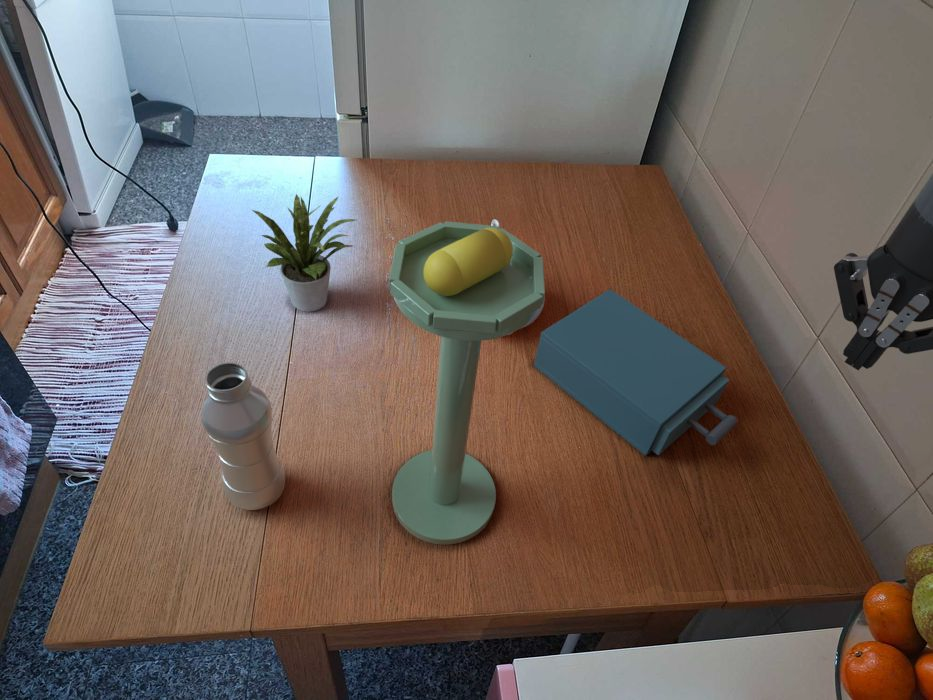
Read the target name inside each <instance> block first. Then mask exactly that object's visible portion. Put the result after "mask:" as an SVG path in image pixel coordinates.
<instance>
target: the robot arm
mask: <svg viewBox="0 0 933 700" xmlns="http://www.w3.org/2000/svg"><path fill="white" fill-rule="evenodd" d="M833 271H834V276H835V281H836V285H837V291H838V296H839V301H840V305H841V311H842V314H843V318H844V320H845V321H847V322H850V323H853V324H854V325H855V327H856V332H855V334H854V335H853V336H852V338H851V339H850V341H849V342H848V343H847V345H846V346H845V347H844V349H843V353H842V355H843V356H844V357H846V359H845V361H844V363H845V364H847V365H848V366H850V367H852V368H854V370H857V371H860V370H861V369H862V368H864V369H866V370H868V369H871V368H872V367H873V366H874V365H876V363H877V362H878V360H880V358H881V357H882V355H884V353H886V351H887V349H890V348H895V349H898V350H899V352H901V353H902V354H905V355H911V354H916V353H922V352H925V351H926V352H927V351H933V326H929V327H924V328H920V329H913V330H906V329H907V328H908V327H909V325H911V324H912V322H915V323H923V322H927V321H931V320H933V173H931V175H930V176H929V178H928V179H927V181H926V182H925V184H924V185H923V187H922V188H921V190H920V191H919V193H918V194H917V195H916V198H915V199H914V200H913V202H912V203H911V205H910V206H909V208H908V209H907V210H906V212H905V213H904V215H903V217H902V218H901V219H900V221H899V222H898V224H897V225H896V227H895V228H894V230H893V231H892V233H891V234H890V236H889V237H888V239H887V240H886V242H885V243H884V244H883V245H881V246H879V247H877V248H876V249H874V251H873V252H871V253H870V254H869V255H857V254H856V253H854V252H848V253H847V254H845V255H844V257H842V258H841V259H840V260H839V261H837V262H836V263H835V264H834V265H833ZM865 276H868V281H869V289H870V294H871V297H872V298H873V301H872V303H871V305H870V307H869V303H868V297H867V292H866V287H865V283H864V277H865ZM890 312H893V313H894V314H895V315H896V316H895V317H894V318H893V319H892V320H891V321H890V322H889V324H887V326H886V327H884V329H882V330H881V331H880V330H879V328H880V327H881V326H882V325H883V323H884V322H885V320H886V319H887V318H888V315H889V314H890Z"/></svg>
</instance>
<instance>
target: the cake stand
mask: <svg viewBox="0 0 933 700" xmlns="http://www.w3.org/2000/svg"><path fill="white" fill-rule="evenodd" d="M485 228H496V229H498V226H491V225H488V224H477V223H467V222H457V221H447V220H445V221H444V223H443V222H442V221H439V222H438V223H436V224H435V223H434V224H433V225H431V226H429V227H426V228H424V229H422V230H420V231H418V232H415V233H413V234H411V235H409V236H407V237H404V238H402V239H400V240H398V243H395V248H394V252H393V258H392V263H391V267H390V272H389V277H388V290H389V291H390V295H391V296H392V297H393V299H394V302H395V304H396V306H397V308H398V309H399V310H400V312H401V313H402V314H403V315H404V317H406V318H407V319H408V320H409V321H410V322H411V323H412V324H414V325H415V326H417V327H418V328H420V329H422V330H424V331H426V332H429V333H430V334H433V335H436V336H439V350H438V364H437V375H436V377H437V378H436V389H435V390H436V391H435V402H434V403H435V405H434V416H433V429H432V430H433V431H432V444H431V449H430V450H426V451H423V452H420V453H418V454H416V455H414V456H413V457H411V458H410V459H408V460H407V461H406V462H405V463H404V464H403V465H402V466H401V467H400V469H399V470H398V471H397V473H396V475H395V477H394V480H393V483H392V488H391V489H392V490H391V502H392V508H393V511H394V514H395V516H396V519H397V520H398V522H399V523H400V525H401V526H402V527H403V528H404V529H405V530H406V531H407V532H408V533H409V534H411V536H413V537H415V538H417V539H418V540H421V541H424V542H426V543H429V544H434V545H445V546H448V545H457V544H460V543H464V542H467V541H468V540H470V539H472V538H474V537H476V536H477V535H478V534H480V533H481V532H482V531H483V530H484V529H485V528H486V526H487V525H488V524H489V522H490V520H491V519H492V516H493V514H494V511H495V506H496V500H497V490H496V485H495V482H494V479H493V477H492V476H491V474H490V472H489V471H488V469H487V468H486V467H485V466H484V465H483V464H482V463H481V462H480V461H479V460H477V459H476V458H475V457H473V456H472V455H469V454H468V453H467V447H468V439H469V431H470V425H471V418H472V411H473V410H472V409H473V403H474V395H475V389H476V381H477V374H478V367H479V361H480V352H481V347H482V346H481V345H482V341H489V340H494V339H499V338H503V337H506V336H509V335H508V334H510V335H512V334H513V333H515V332H517V331H518V330H521V329H522V328H521V327H523V326H524V325H525V324H526V323H527V322H529V321H530V320H531V318H532V317H533V316H534V314H535V312H536V310H538V309H539V308H541V305H542V304H543V301H544V302H545V300H544V296H546V285H545V269H544V257H543V256H541V253H540V252H538V251H536V250H535V249H534V248H532V247H531V246H529V245H528V244H526V243H525V242H523V240H521V239H519V238H517V236H515V235H513V234H512V233H511V232H509V231H507V230H506V229H504V228H503V227H500V229H499V230H501V231H503V232H504V233H505V234H506V235H507V236H508V237H509V239H510V241H511V243H512V247H513V253H512V258H511V260H510V262H509V264H508V265H507V266H506V267H505V268H504V269H502V270H501V271H499V272H497V273H495V274H493V275H491V276H490V277H488V278H486V279H484V280H482V281H480V282H478V283H476V284H475V285H473V286H471V287H469V288H467V289H465V290H463V291H461V292H460V293H458V294H455V295H451V296H443V295H439V294H437V293H435V292H433V291H432V290H431V289H430V288H429V287H428V286H427V284H426V282H425V279H424V272H423V270H424V265H425V262H426V261H427V259H428V258H429V256H430V255H431V254H433V253H434V252H436V251H437V250H440V249H442V248H444V247H446V246H448V245H450V244H452V243H454V242H456V241H458V240H461V239H463V238H465V237H467V236H469V235H471V234H473V233H475V232H477V231H479V230H482V229H485ZM520 328H521V329H520ZM523 328H524V327H523ZM511 333H512V334H511Z"/></svg>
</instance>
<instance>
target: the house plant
mask: <svg viewBox="0 0 933 700" xmlns="http://www.w3.org/2000/svg"><path fill="white" fill-rule="evenodd" d="M338 198H339V196H336V197H335V198H334V199H333V200H331V201H330V202H329V203H328V204H327V205H326V206H325V207H324V209H323V210H322V213H321V214H320V216H319V218H318V220H317V221H316V223H315V225H314V224H310V216H311V215H312V214H313V213H314V212H315V211H316V210H318V209H320V207H321V206H322V205H321V204H320V205H319V206H317V207H315V209H313V210H311V211H310V212H308V208H307V205H306V203H305V200H304V199H303V198H302V196H300V197H299V195H298V193H296V194H295V196H294V201H293V211H292V209H290V208H289V206H288V207H287V210H288V211H289V213H290V215H291V218H292V219H293V220H292V221H293V223H292V225H293V226H292V231H293V234H294V237H295V238H294V239H295V241H294V242H295V244H294V245H293V244H292V242H291V241H290V240H289V238H288V236H287V235H286V234H285V232H284V231H283V229H282V228H281V227H280V225H279V224H278V223H277V222H276V221H275V220H274V219H272V218H270V217H269V216H267V215H265V214H264V213H263V212H261V211H258V210H254V209H251V211H252V212H253V213H255V214H256V215H257V216H258V217H259V218H260V219H261V220H262V221H263V222H264V223H265V224H266V226H268V228H270V230H271V231H272V234H273V236H274V237H273V236H270V235H268V234H262V235H261V237H263V238H266V239H269V240H270V241H271V242H267V243H264V244H263V245H264V247H265V248H266V249H267V250H268V251H270V252H272V253H273V254H275V255H278V256H279V257H273V258H272V259H270V260H269V261H268V262H267V264H266V265H265V267H264V269H266V268H272V267H273V268H274V267H278V266H280V267H279V273H280V275H281V277H282V281H283V283H284V285H285V288H286V291H287V295H288V296H289V299H290V302H291V304H292V307H294V308H295V309H297V310H300V311H301V312H307V313H308V312H309V313H310V312H316V311H318V310H320V309H322V308H323V307H325V305H326V304H327V302H328V294H329V287H330V286H329V284H330V278H331V277H330V275H331V268H332V267H331V263H330V261H329V260H328V259H329V258H330V257H332V255H333V254H335V253H337V252H339V251H340V250H343V249H345V248H352V247H353V245H352V244H344V243H343V242H341V241H338V240H337V241H336V239H338V238H340V237H350V235H348V234H343V233H342V234H340V233H339V234H338V233H337V234H335V235H333V236H331V237H330V238H328V240H326V241H325V242H324V244H323V245H322V243H321V241H322V240H323V239H324V238H325V236H326V235H327V234H328V233H329V232H331V231H332V230H333V229H335V228H337V227H338V226H340V225H342V224H346V223H351V222H355V221H357V219H355V218H344V219H339V220H336V221H334V222H332V223H330V224H329V225H328V226H327V227H326V228H324V226H325V225H326V224H327V223H328V220H329V219H328V218H329V216H330V214H331V213H332V211H334V209H335V207H334V205H335V204H336V202H337V201H338ZM312 229H313V232H312V233H311V231H312ZM310 235H311V237H310ZM334 240H335V241H334ZM330 249H332V250H330ZM327 250H330V252H329V253H327V255H326V256H323V255H322V254H323V253H326V251H327Z"/></svg>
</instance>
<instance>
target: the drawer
mask: <svg viewBox="0 0 933 700" xmlns="http://www.w3.org/2000/svg"><path fill="white" fill-rule="evenodd" d="M729 382H730V379H729V378H728V377H726V376H724V374H723V375H721V376H720V377H719V378H718V379H716V380H715V381H714V382H713V383H712V384H711V385H709V386H708V387H707V388H706V389H705V390H704V391H702V392H701V393H700V394H699V395H698V396H697V397H696V398H694V399H693V400H692V401H691V402H690V403H689V404H687V405H686V406H685V407H684V408H683V409H682V410H681V411H679V412H678V413H677V414H676V415H675V416H674V417H672V418H671V419H670V420H669V421H668V422H667V423H666V424H664V425H663V426H662V428H661V430H660V432H659V434H658V436H657V438H656V440H655V442H654V444H653V446H652V448H651V450H652V451H651V452H653V453H654V454H656V455H657V456H660V455H661V454H662V453H663V452H664V451H665V450H666V449H668V447H670V446H671V445H672V444H673V443H674V442H675V441H676V440H677V439H679V438H680V437H681V436H682V435H683V434H684V433H685V432H686V431H687V430H688V429H690V428H693V429H694V430H696V431H697V432H699V434H701V435H703V436H704V437H705V441H706V442H707V444H708V445H710V446H716V445H717V444H718V443H719V442H721V440H723V438H724V437H726V435H728V433H730V432H731V431H732V429H734V428H735V427H736V426H737V425H738V419H737V417H736V416H735V415H731V414H728V415H727V414H725V413H724V412H722V411H721V410H720V409H718V408H717V407H716V406H715V405H717V403H718V401H719V399H720V398H721V396H722V394H723V392H724V391H725V389H726V387H727V385H728V384H729ZM708 412H710V413H712V414H713V415H714V416H715V417H717V418H719V419H720V420H721V421H720V422H719V423H718V424H717V425H716V426H715V427H714V428H713V429H712V430H711V431H709V430H708V429H707V428H706V427H704V426H703V425H701V424H700V423H699V422H698V421H699V420H700V419H701V418H702V417H703V416H704V415H705V414H707V413H708Z"/></svg>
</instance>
